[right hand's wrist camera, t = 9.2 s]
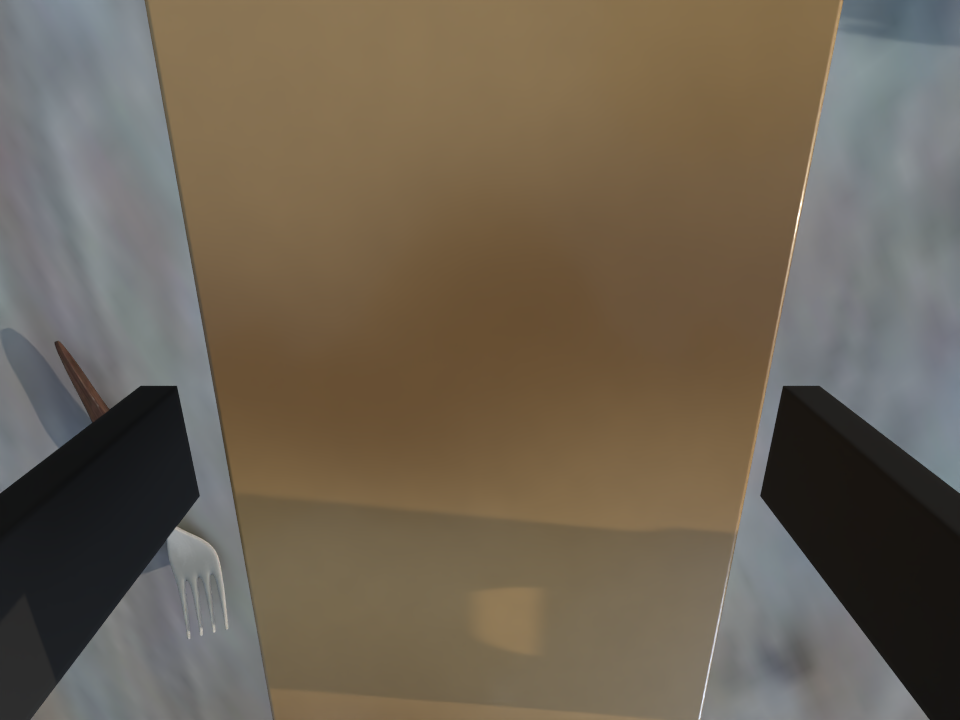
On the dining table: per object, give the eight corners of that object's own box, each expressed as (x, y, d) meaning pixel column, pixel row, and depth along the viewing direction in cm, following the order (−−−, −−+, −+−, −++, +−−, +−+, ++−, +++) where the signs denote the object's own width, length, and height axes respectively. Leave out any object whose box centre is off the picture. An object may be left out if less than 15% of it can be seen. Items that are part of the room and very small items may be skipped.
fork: (90, 329, 26) (60, 344, 24) (245, 600, 32) (231, 629, 30) (38, 345, 26) (4, 361, 24) (201, 610, 32) (184, 640, 30)
